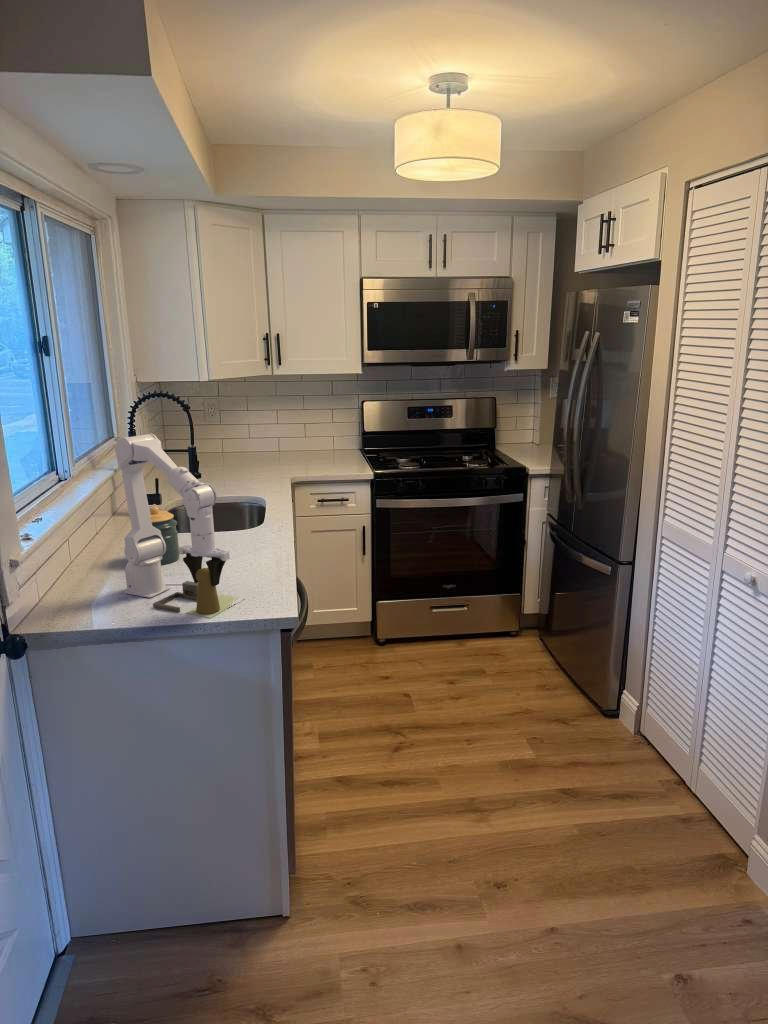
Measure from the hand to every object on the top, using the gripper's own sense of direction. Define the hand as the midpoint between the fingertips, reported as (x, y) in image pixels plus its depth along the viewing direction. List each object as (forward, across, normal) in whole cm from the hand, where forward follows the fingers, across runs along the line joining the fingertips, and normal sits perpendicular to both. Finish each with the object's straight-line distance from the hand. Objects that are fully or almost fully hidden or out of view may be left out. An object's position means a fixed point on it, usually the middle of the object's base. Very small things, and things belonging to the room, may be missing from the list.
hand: (206, 583), depth 175 cm
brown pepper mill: (+7, 0, 0) cm, 7 cm away
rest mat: (+7, 0, +3) cm, 8 cm away
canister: (+8, -42, +27) cm, 51 cm away
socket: (+7, -10, +3) cm, 13 cm away
